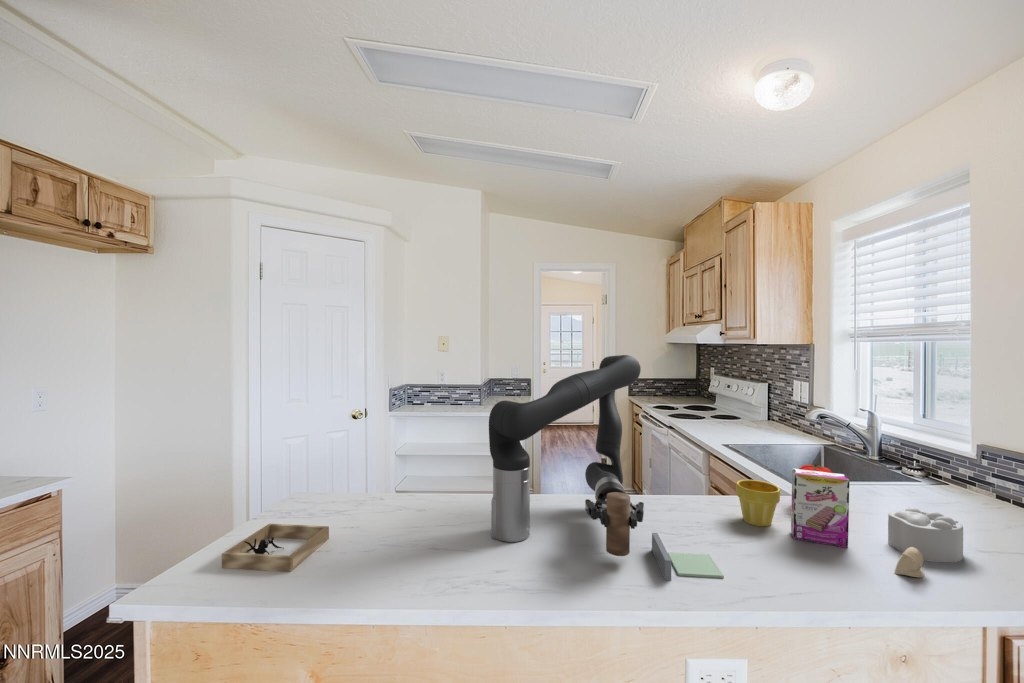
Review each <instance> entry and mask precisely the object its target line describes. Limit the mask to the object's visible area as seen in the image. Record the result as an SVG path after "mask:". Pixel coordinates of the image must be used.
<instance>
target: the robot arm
mask: <svg viewBox="0 0 1024 683" xmlns="http://www.w3.org/2000/svg"><path fill="white" fill-rule="evenodd" d="M641 370H642V369H641V364H640V362H639V361H638V360H637V358H635V357H634V356H632V355H628V354H621V355H609V356H605V357H604V358H603V359H602V360H601V361H600V363H599V368H598V369H592V370H586V371H583V372H579V373H574V374H572V375H570V376H567V377H565V378H563V379H560V380H558V381H556V382H555V383H554V384H553V385H552V386H551V387H550V388H549V390H548V392H547V393H546V394H545V395H543V396H542V397H539V398H537V399H535V400H531V401H528V402H517V401H511V400H501V401H497V403H495V404H494V405H493V406H492V408H491V411H490V413H489V417H488V418H489V419H488V439H489V440H488V443H489V454H490V455H491V456H490V457H491V460H492V498H491V503H490V504H491V511H490V512H491V514H490V515H491V517H490V518H491V519H490V520H491V528H490V529H491V532H490V533H491V539H495V540H498V541H501V542H507V543H508V542H509V543H516V542H521V541H525V540H527V539H528V538H529V537H530V535H531V534H530V533H531V532H530V531H531V525H530V524H531V522H530V521H531V520H530V519H531V518H530V517H531V516H530V515H531V512H530V511H531V510H530V508H531V507H530V506H531V505H530V504H531V502H530V501H531V496H530V495H531V493H530V492H531V490H530V486H531V479H530V478H531V476H530V474H531V469H530V468H531V466H530V465H531V461H530V454H529V452H527V450H525V449H524V447H523V446H522V443H521V441H524V440H528V439H529V438H531V437H533V436H534V435H536V434H537V433H539V432H540V431H542V429H544V428H546V427H547V426H549V425H551V424H552V423H554V422H555V421H557V420H560V419H562V418H563V417H565V416H567V415H569V414H572V413H574V412H575V411H578V410H580V409H583V408H584V407H586V406H588V405H589V404H591V403H593V402H595V401H596V400H598V405H599V408H598V409H599V414H598V415H599V417H598V425H597V433H596V434H597V435H596V442H595V452H597V454H600V455H602V456H605V457H607V458H608V459H609V460H610V464H608V463H603V462H599V461H593V462H591V463H589V464H588V465H587V466H586V469H585V472H584V473H585V476H584V477H585V480H586V483H587V486H588V487H589V488H590V489H591V490H592V491H594V497H595V498H594V499H595V501H592V500H590V499H588V498H587V499H585V501H584V503H585V504H584V509H585V512H586V514H587V515H588V516H589V517H590V518H591V520H597V519H599V521H600V525H602V526H604V528H606V527H608V515H607V494H608V493H611V492H620V493H625V494H627V492H626V490H625V488H624V486H623V483H624V482H623V481H624V476H623V470H622V469H623V468H622V462H621V461H622V460H621V443H622V435H623V425H622V420H621V417H620V413H619V411H618V408H617V404H616V400H615V399H616V390H619V389H622V388H626V387H628V386H631V385H634V384H635V383H637V381H638V379H639V378H640V375H641ZM644 506H645V503H644V502H642V501H639V502H638V503H636V504H633V503H632V501H630V530H632V529H633V530H635V528H636V527H637V526H638V523H643V521H644V514H645V513H644V512H645V508H644Z"/></svg>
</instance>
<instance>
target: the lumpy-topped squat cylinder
mask: <svg viewBox="0 0 1024 683" xmlns="http://www.w3.org/2000/svg"><path fill="white" fill-rule="evenodd" d="M887 515H888V516H887V517H888V518H887V519H888V520H887V527H888V528H887V543H888V544H887V545H889V546H891V547H893V548H894V549H897V550H899V551H900V552H902V553H904V551H905V550H906V549H907V548H909V547H914V548H916V549H917V550H919V551H920V552H921V554H922V556H923V561H927V562H938V563H957V562H960V561H962V560H963V559H964V526H963V524H962V523H961V522H959V521H958V520H955V519H953V518H952V517H949V516H945V515H944V514H942V513H940V512H937V511H928V512H925V511H921V510H920V509H918V508H916V507H913V506H911V507H907V508H906V509H905V510H898V511H890V512H889V513H888V514H887Z"/></svg>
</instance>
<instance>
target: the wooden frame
mask: <svg viewBox="0 0 1024 683" xmlns="http://www.w3.org/2000/svg"><path fill="white" fill-rule="evenodd" d="M265 533H266V536H265ZM264 537H265V539H264ZM272 537H274V538H277V539H278V538H279V539H280V538H281V539H282V538H283V539H297V540H299V539H301V540H307V541H305V542H304V543H303V544H302V545H300V547H298V548H297V549H296V550H294V551H293V552H292V553H291V554H289V555H284V554H271V555H270V553H269V554H268V553H267V554H265V553H264V554H255V553H251V552H246V551H247V550H249V549H251V547H250V546H249V545H248V544H247V543H245V542H244V541H246V542H248V543H250V544H251V545H252V546H254V541H255V539H256V546H255V548H258V546H259V543H260V541H261V540H263V539H264V540H266V541H268V540H269V539H270V538H272ZM329 539H330V526H327V525H326V526H325V525H309V524H308V525H305V524H287V523H286V524H285V523H268V524H266V525H265V526H263V527H262V528H260V529H258V530H257V531H256V532H254V533H252V534H251V535H249V536H247V537H246V538H244V539H243V540H240V541H239V542H238V543H237V544H235V545H233V546H232V547H230V548H229V549H227V550H226V551H224V552H223V553H221V568H222V569H234V570H235V569H236V570H238V569H239V570H252V571H253V570H255V571H269V572H271V571H272V572H273V571H274V572H286V573H287V572H289V573H291V572H292V571H293V570H295V569H296V568H298V566H299V565H300V564H302V563H303V562H304V561H305V560H307V558H308V557H310V556H311V555H312V554H313V553H314V552H315V551H316V550H317V549H319V548H320V547H321V546H322V545H324V544H325V543H326V542H327V541H328V540H329Z"/></svg>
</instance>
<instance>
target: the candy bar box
mask: <svg viewBox="0 0 1024 683" xmlns="http://www.w3.org/2000/svg"><path fill="white" fill-rule="evenodd" d="M849 509H850V479H849V478H848V477H847V476H846V475H845V474H844V473H835V472H833V473H828V472H819V471H811V470H802V469H799V468H792V469H791V510H790V512H791V514H790V518H791V520H790V524H791V525H790V531H791V534H792V538H793V539H794V540H799V541H806V542H811V543H817V544H823V545H828V546H835V547H841V548H846V549H847V548H848V547H849V520H850V518H849V517H850V515H849V514H850V510H849Z"/></svg>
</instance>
